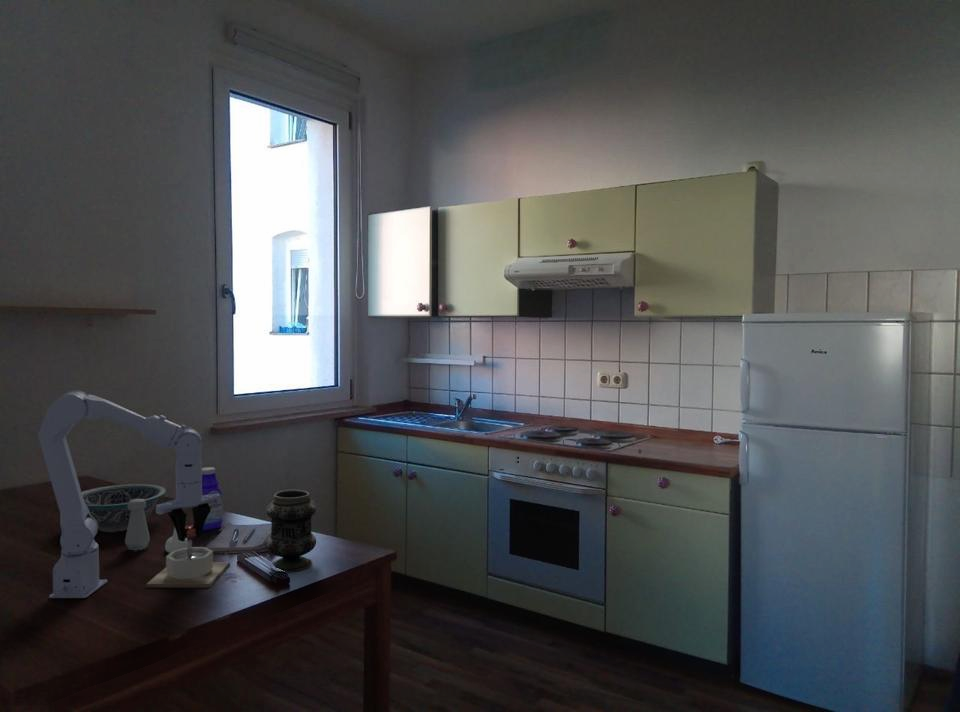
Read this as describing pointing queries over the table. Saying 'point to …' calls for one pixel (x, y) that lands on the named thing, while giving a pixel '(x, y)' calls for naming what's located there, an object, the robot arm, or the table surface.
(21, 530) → the table surface
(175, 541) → the garlic bulb
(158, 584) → the board
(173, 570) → the press carafe
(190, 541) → the plunger
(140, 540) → the salt shaker
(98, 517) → the bowl
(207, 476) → the bottle
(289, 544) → the apothecary jar
